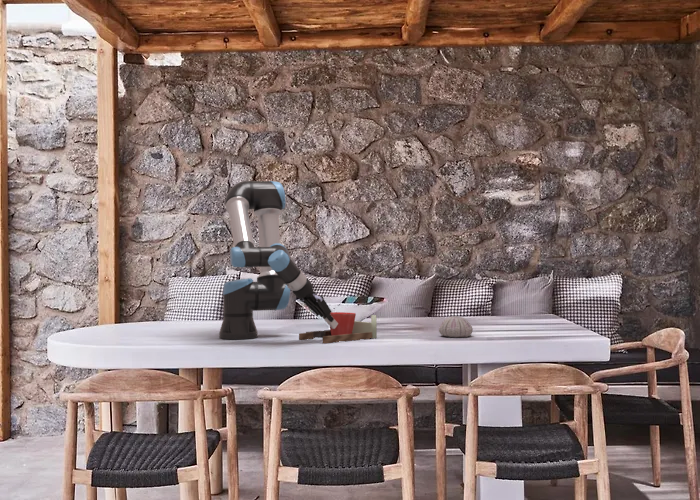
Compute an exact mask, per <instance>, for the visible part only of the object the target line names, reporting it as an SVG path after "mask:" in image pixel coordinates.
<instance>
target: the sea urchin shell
mask: <svg viewBox="0 0 700 500" xmlns="http://www.w3.org/2000/svg"><path fill="white" fill-rule="evenodd" d="M473 329H474V328H473V326H472V324H471V323H470V322H469V321H468V320H467V319H466V318H465V317H463V316H458V315H457V316H455V315H453V316H449V317H447V318H445V319H444V320H443V321H441V323H440V325H439V327H438V333H439V334H440V335H441V336H443V337H447V338H454V339H455V338H456V339H457V338H467V337H470V336H471V335H472V334H473Z"/></svg>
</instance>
